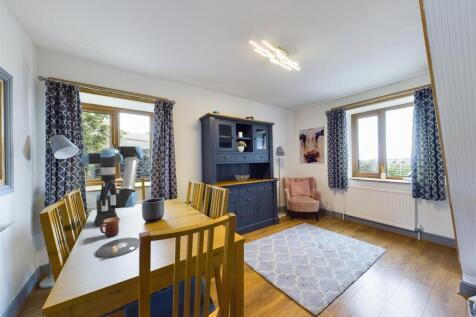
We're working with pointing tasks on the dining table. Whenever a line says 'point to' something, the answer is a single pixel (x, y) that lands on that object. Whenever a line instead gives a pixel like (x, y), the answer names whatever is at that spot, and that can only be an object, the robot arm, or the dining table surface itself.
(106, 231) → the mug
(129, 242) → the seat disc
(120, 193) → the robot arm
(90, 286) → the dining table surface
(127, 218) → the dining table surface
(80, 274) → the dining table surface
